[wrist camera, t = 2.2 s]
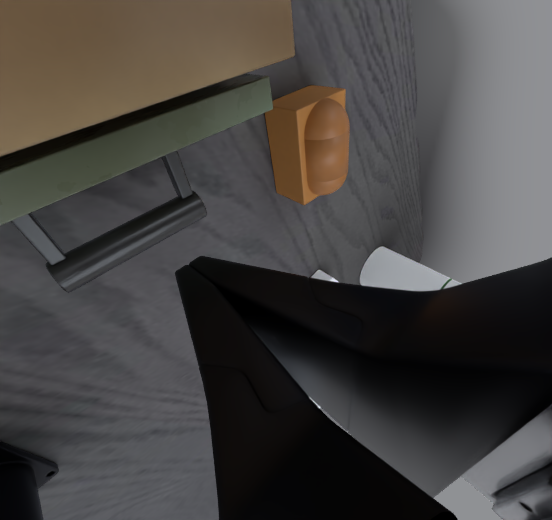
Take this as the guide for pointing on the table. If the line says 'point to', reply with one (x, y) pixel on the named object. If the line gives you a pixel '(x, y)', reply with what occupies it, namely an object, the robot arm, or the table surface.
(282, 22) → the cabinet
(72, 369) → the table surface
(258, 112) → the drawer
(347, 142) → the bread loaf
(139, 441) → the table surface
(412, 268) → the cylindrical container
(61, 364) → the table surface
